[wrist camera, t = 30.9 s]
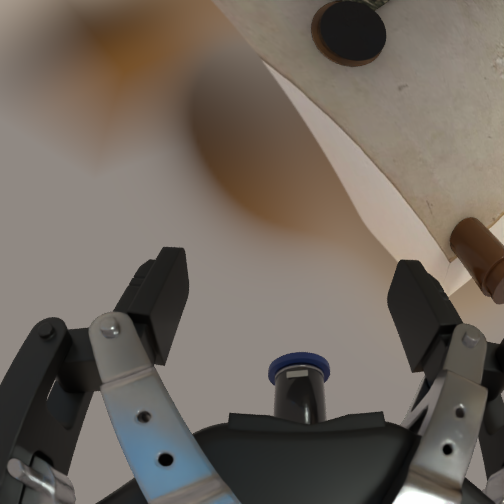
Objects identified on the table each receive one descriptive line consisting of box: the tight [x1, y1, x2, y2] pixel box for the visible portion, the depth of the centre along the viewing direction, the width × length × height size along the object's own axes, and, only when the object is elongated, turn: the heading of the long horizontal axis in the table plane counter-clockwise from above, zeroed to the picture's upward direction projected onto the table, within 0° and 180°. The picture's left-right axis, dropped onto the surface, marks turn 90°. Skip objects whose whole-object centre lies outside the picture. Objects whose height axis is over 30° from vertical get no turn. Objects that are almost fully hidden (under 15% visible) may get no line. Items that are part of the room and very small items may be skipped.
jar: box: [450, 217, 504, 304], centre depth 30 cm, size 6×6×12 cm
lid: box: [318, 1, 386, 61], centre depth 22 cm, size 7×7×3 cm
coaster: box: [311, 1, 382, 67], centre depth 24 cm, size 8×8×1 cm
